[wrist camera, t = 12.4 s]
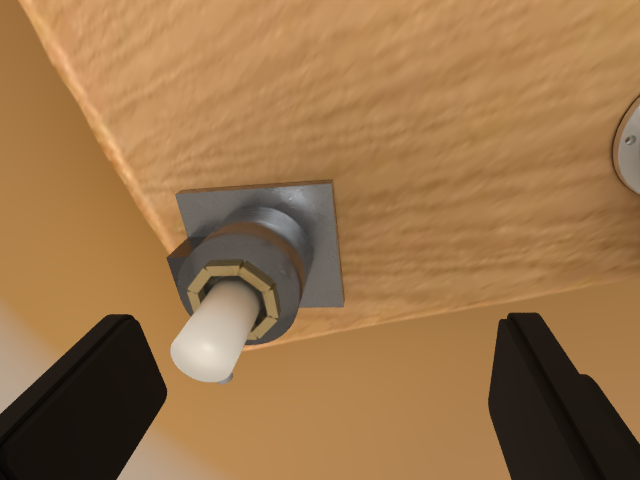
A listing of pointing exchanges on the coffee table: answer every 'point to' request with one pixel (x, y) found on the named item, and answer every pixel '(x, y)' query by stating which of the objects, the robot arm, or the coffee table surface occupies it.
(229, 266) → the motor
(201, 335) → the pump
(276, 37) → the coffee table surface
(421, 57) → the coffee table surface
